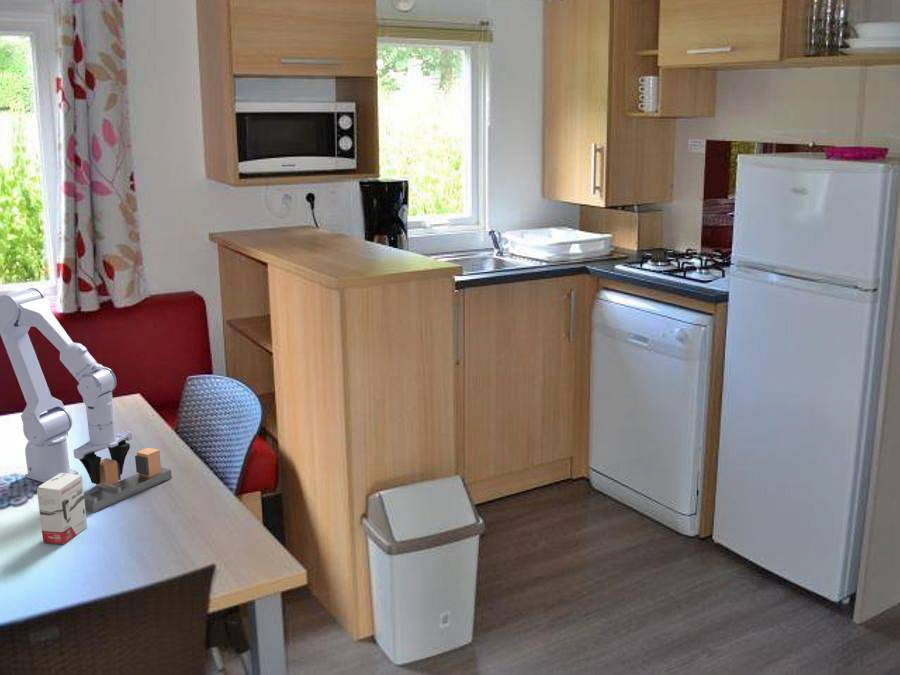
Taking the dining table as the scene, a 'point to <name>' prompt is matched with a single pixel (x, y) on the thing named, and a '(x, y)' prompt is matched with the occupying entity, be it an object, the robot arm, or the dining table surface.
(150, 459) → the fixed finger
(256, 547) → the dining table surface
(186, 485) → the dining table surface
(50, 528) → the ink box
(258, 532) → the dining table surface
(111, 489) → the rail
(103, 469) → the tan block with backing
